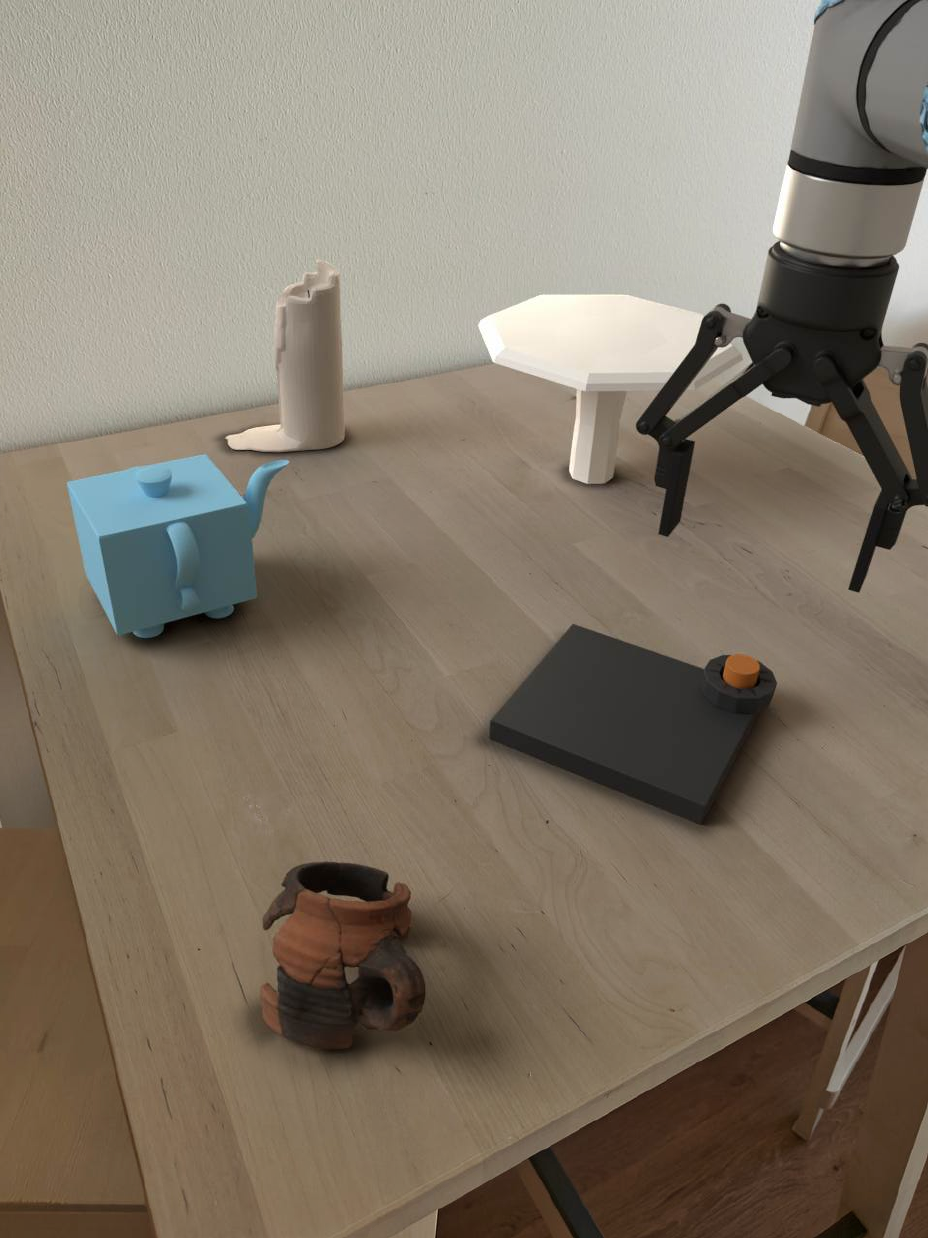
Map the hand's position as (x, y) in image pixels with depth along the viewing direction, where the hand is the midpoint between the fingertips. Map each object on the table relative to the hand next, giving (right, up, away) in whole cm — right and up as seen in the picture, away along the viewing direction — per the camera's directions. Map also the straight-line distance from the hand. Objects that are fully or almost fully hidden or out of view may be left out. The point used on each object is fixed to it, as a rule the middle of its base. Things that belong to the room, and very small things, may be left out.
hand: (759, 554), depth 72 cm
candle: (-42, +16, +47) cm, 65 cm away
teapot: (-45, -2, +20) cm, 49 cm away
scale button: (+1, -9, +8) cm, 12 cm away
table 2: (-7, +12, +43) cm, 45 cm away
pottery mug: (-28, -26, -13) cm, 40 cm away
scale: (-8, -13, +8) cm, 17 cm away
